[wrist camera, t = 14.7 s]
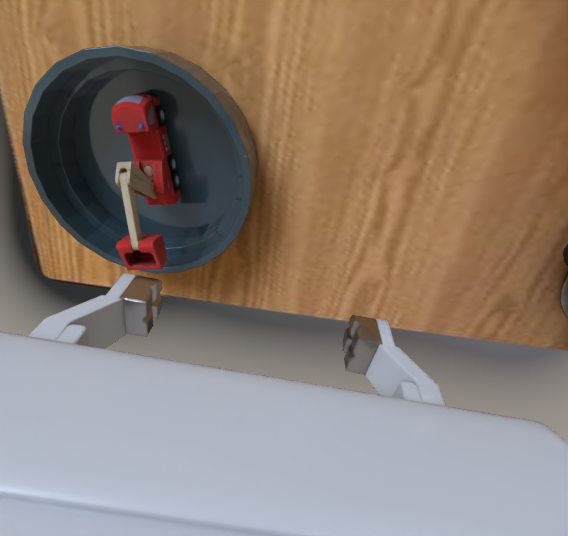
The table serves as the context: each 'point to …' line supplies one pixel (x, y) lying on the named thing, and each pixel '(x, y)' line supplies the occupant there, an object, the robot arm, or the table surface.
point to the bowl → (116, 148)
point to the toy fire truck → (144, 176)
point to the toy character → (565, 285)
